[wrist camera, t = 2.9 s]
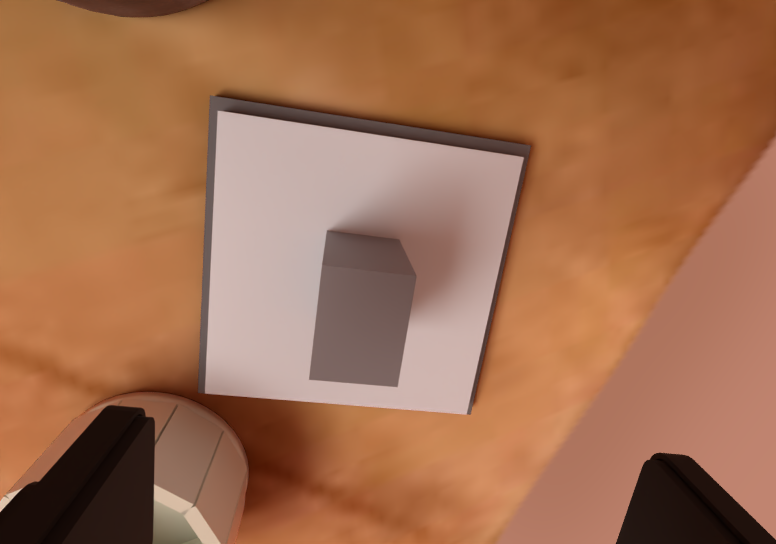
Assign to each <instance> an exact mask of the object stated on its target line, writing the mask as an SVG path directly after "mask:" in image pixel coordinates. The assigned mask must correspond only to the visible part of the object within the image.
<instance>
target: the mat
mask: <svg viewBox="0 0 776 544" xmlns="http://www.w3.org/2000/svg"><path fill="white" fill-rule="evenodd" d="M218 111H226V112H232V113H239V114H245V115H252V116H258V117H265V118H271V119H278V120H285V121H291V122H298V123H304V124H311V125H317V126H324V127H330V128H337V129H344V130H350V131H357V132H363V133H370V134H376V135H383V136H389V137H396V138H402V139H409V140H416V141H422V142H429V143H435V144H442V145H448V146H455V147H461V148H468V149H475V150H481V151H488V152H494V153H501V154H507V155H514V156H520V157H524V159H523V163H522V168H521V172H520V177H519V181H518V186H517V190H516V195H515V199H514V204H513V208H512V213H511V217H510V222H509V226H508V231H507V235H506V240H505V244H504V249H503V253H502V258H501V262H500V267H499V271H498V276H497V280H496V285H495V289H494V294H493V298H492V303H491V307H490V312H489V316H488V321H487V325H486V330H485V334H484V339H483V343H482V348H481V352H480V357H479V361H478V366H477V370H476V375H475V379H474V384H473V388H472V392H471V397H470V401H469V406H468V410H467V414H469V415H471V410H472V406H473V401H474V397H475V392H476V388H477V383H478V379H479V375H480V370H481V366H482V361H483V357H484V352H485V348H486V344H487V339H488V335H489V330H490V326H491V321H492V317H493V312H494V308H495V304H496V299H497V295H498V290H499V286H500V281H501V277H502V273H503V268H504V264H505V259H506V255H507V250H508V246H509V241H510V237H511V233H512V228H513V224H514V219H515V215H516V210H517V206H518V201H519V197H520V193H521V188H522V184H523V179H524V175H525V170H526V166H527V162H528V157H529V153H530V148H531V145H524V144H518V143H511V142H505V141H499V140H492V139H486V138H479V137H473V136H467V135H460V134H454V133H447V132H441V131H435V130H428V129H422V128H415V127H409V126H403V125H396V124H390V123H383V122H377V121H371V120H364V119H358V118H351V117H345V116H338V115H332V114H326V113H319V112H313V111H306V110H300V109H294V108H287V107H281V106H274V105H268V104H262V103H255V102H249V101H242V100H236V99H230V98H223V97H217V96H210V109H209V133H208V157H207V182H206V206H205V231H204V255H203V280H202V304H201V329H200V353H199V377H198V393H205V379H206V357H207V335H208V313H209V291H210V269H211V247H212V225H213V204H214V182H215V160H216V138H217V116H218Z"/></svg>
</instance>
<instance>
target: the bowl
mask: <svg viewBox="0 0 776 544" xmlns="http://www.w3.org/2000/svg"><path fill="white" fill-rule="evenodd" d="M108 405H116V406H128V407H139V408H143V409H144V410H145V413H146V417H153V418H154V420H155V463H154V522H153V543H152V544H235V542H236V538H237V534H238V530H239V526H240V522H241V519H242V515H243V511H244V505H245V493H246V490H247V485H248V479H249V466H248V460H247V456H246V453H245V450H244V447H243V445H242V443H241V441H240V439H239V438H238V436H237V435H236V433H235V432H234V430H233V429H232V428H231V427H230V426H229V425H228V424H227V423H226V421H224V420H223V419H222V418H221V417H220V416H219V415H217V414H216V413H215V412H213V411H212V410H210V409H208V408H207V407H205V406H203V405H201V404H199V403H197V402H195V401H193V400H190V399H187V398H185V397H181V396H177V395H173V394H169V393H161V392H134V393H127V394H122V395H118V396H115V397H112V398H109V399H106V400H104V401H102V402H100V403H98V404H95V405H94V406H92V407H91V408H89V409H88V410H86V411H85V412H84V413H83V414H82V415H80V416H79V417H77V418H75V419H74V420H72V422H71V423H70V424H69V425H68V426H67V427H66V428H65V429H64V430H63V431H62V433H61V434H60V435H59V436H58V437H57V438H56V439H55V440H54V441H53V443H52V444H51V445H50V446H49V447H48V448H47V449H46V450H45V451H44V453H43V454H42V455H41V456H40V457H39V458H38V459H37V460H36V461H35V463H34V464H33V465H32V466H31V467H30V468H29V469H28V470H27V471H26V473H25V474H24V475H23V476H22V477H21V478H20V479H19V480H18V481H17V482H16V484H15V485H14V486H13V487H12V488H11V489H10V490H9V491H8V492H7V494H6V495H5V496H4V497H3V498H2V500H1V501H0V512H1V511H2V509H3V508H4V507H5V506H6V505H7V504H8V503H9V502H10V501H11V500H12V499H13V498H14V496H15V495H16V494H17V493H18V492H19V491H20V490H21V489H23V488H24V487H25V486H26V485H27V484H29V483H32V482H34V481H37V482H39V481H40V480H41V479H42V478H43V476H44V475H45V474H46V473H47V472H48V471H49V470H50V469H51V467H52V466H53V465H54V464H55V463H56V462H57V461H58V459H59V458H60V457H61V456H62V455H63V454H64V453H65V452H66V450H67V449H68V448H69V447H70V446H71V445H72V444H73V443H74V441H75V440H76V439H77V438H78V437H79V436H80V435H81V434H82V432H83V431H84V430H85V429H86V428H87V427H88V426H89V425H90V423H91V422H92V421H93V420H94V419H95V418H96V417H97V416H98V414H99V413H100V412H101V411H102V410H103V409H104V408H105V407H106V406H108Z"/></svg>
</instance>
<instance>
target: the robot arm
mask: <svg viewBox="0 0 776 544" xmlns="http://www.w3.org/2000/svg"><path fill="white" fill-rule="evenodd" d="M154 463H155V420H154V418H153V417H146V413H145V410H144V409H143V408H139V407H128V406H116V405H108V406H106V407H105V408H104V409H103V410H102V411H101V412H100V413H99V414H98V416H97V417H96V418H95V419H94V420H93V421H92V422H91V423H90V425H89V426H88V427H87V428H86V429H85V430H84V431H83V432H82V434H81V435H80V436H79V437H78V438H77V439H76V440H75V441H74V443H73V444H72V445H71V446H70V447H69V448H68V449H67V450H66V452H65V453H64V454H63V455H62V456H61V457H60V458H59V459H58V461H57V462H56V463H55V464H54V465H53V466H52V467H51V469H50V470H49V471H48V472H47V473H46V474H45V475H44V476H43V478H42V479H41V480H40V481H39V482H37V481H34V482H32V483H29V484H27V485H26V486H25V487H24V488H23V489H21V490H20V491H19V492H18V493H17V494H16V495H15V496H14V498H13V499H12V500H11V501H10V502H9V503H8V504H7V505H6V506H5V507H4V508H3V509H2V511H1V512H0V544H152V543H153V522H154ZM616 544H776V540H775V539H774V538H773V537H772V536H771V535H770V534H769V533H768V532H767V531H766V530H765V529H764V528H763V527H762V526H761V525H760V524H759V523H758V522H757V521H756V520H755V519H754V518H753V517H752V516H751V515H749V513H748V512H747V511H745V509H743V507H741V506H740V505H739V504H738V503H737V502H736V501H735V500H734V499H733V498H732V497H731V496H730V495H729V494H728V493H727V492H726V491H725V490H724V489H723V488H722V487H721V486H720V485H719V484H718V483H717V482H716V481H715V480H713V478H712V477H711V476H710V475H709V474H708V473H707V472H705V471H704V469H703V468H701V467H700V466H699V465H698V464H697V463H696V462H695V461H694V460H693V459H692V458H690V457H689V456H686V455H679V454H667V453H656V454H654V455H653V456H652V457H651V459H650V460H647V461H646V462H645V463H644V465H643V467H642V470H641V473H640V475H639V478H638V481H637V484H636V487H635V490H634V493H633V496H632V498H631V501H630V504H629V507H628V510H627V513H626V516H625V519H624V522H623V525H622V528H621V531H620V533H619V536H618V539H617V542H616Z"/></svg>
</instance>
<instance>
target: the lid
mask: <svg viewBox="0 0 776 544" xmlns="http://www.w3.org/2000/svg"><path fill="white" fill-rule="evenodd" d="M523 159H524V157H520V156H514V155H507V154H501V153H494V152H488V151H481V150H475V149H468V148H461V147H455V146H448V145H442V144H435V143H429V142H422V141H416V140H409V139H402V138H396V137H389V136H383V135H376V134H370V133H363V132H357V131H350V130H344V129H337V128H330V127H324V126H317V125H311V124H304V123H298V122H291V121H285V120H278V119H271V118H265V117H258V116H252V115H245V114H239V113H232V112H226V111H218V116H217V138H216V160H215V182H214V204H213V225H212V247H211V269H210V291H209V313H208V335H207V357H206V379H205V394H216V395H229V396H241V397H254V398H267V399H279V400H292V401H304V402H317V403H330V404H342V405H355V406H367V407H380V408H393V409H405V410H418V411H430V412H443V413H455V414H467V410H468V406H469V401H470V397H471V392H472V388H473V384H474V379H475V375H476V370H477V366H478V361H479V357H480V352H481V348H482V343H483V339H484V334H485V330H486V325H487V321H488V316H489V312H490V307H491V303H492V298H493V294H494V289H495V285H496V280H497V276H498V271H499V267H500V262H501V258H502V253H503V249H504V244H505V240H506V235H507V231H508V226H509V222H510V217H511V213H512V208H513V204H514V199H515V195H516V190H517V186H518V181H519V177H520V172H521V168H522V163H523Z"/></svg>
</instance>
